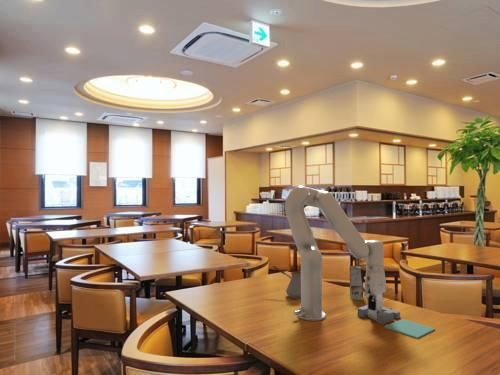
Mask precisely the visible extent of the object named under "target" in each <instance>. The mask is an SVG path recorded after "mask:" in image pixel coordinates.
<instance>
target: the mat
mask: <svg viewBox="0 0 500 375" xmlns="http://www.w3.org/2000/svg"><path fill="white" fill-rule="evenodd" d="M383 328H384V329H386V330H389V331H392V332H396V333H398V334H402V335H405V336H408V337H410V338H414V339H416V340H417V339H420V338H422V337H424V336H426V335H427V334H430V333H432V332H434V331H435V330H436V329H435V328H434V327H430V326H427V325H424V324H420V323H418V322H414V321H411V320H408V319H405V318H401V319H399V320H396V321H394V322H392V323H390V324H386V325H384V327H383Z"/></svg>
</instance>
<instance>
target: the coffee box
mask: <svg viewBox="0 0 500 375" xmlns="http://www.w3.org/2000/svg"><path fill="white" fill-rule="evenodd" d="M349 296H350V297H349V298H350V300H355V301H364V269H363V267H362V266H361V265H349Z"/></svg>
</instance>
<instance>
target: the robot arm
mask: <svg viewBox="0 0 500 375" xmlns="http://www.w3.org/2000/svg"><path fill="white" fill-rule="evenodd" d="M284 203H285V204H284V212H285V216H286V218H287V222H288V224H289V228H290V230H291V235H292V239H293V241H294V244H295V246H296V249H297V252H298V254H299V257H300V272H301V299H300V306H299V307H298V309H297V310H294V311H293V315H294V316H298V318H300V319H301V320H305V321H310V322H311V321H313V322H314V321H315V322H316V321H321V320H324V319H325V318H326V313H325V312H324V311H323V277H322V276H323V256H322V255H323V254H322V252H321V251H320V249H319V247H318V244H317V242H316V240H315V236H314V233H313V230H312V228H311V226H310V223H309V221H308V218H307V215H306V212H305V206H307V207H313V208H318V209H319V211H320V212H321V213H322V215H323V216H324V218H325V219H326V221H327V222H328V224H329V225H330V227H331V228H332V229H333V231H334V232H335V233H336V234H337V235H338V236H340V238H341V239H342V240H343V242H344V243H345V245H346V246H347V250H348V252H349V253H350V254H351V255H352V257H354V258H355V259H359V260H362V259H365V270H366V271H365V279H364V293H363V297H365V298H366V299H367V305H368V309H370V310H373V311H375V301H374V298H375V295H379V294H382V300H383V298H384V297H383V296H384V294H385V293H386V291H387V282H386V280H387V279H386V273H385V272H386V271H385V267H384V266H385V265H384V264H385V259H384V257H385V256H384V254H385V252H384V251H385V250H384V249H385V248H384V247H385V246H384V241H382V240H378V239H369V240H365V239H364V237H362V235H361V233H360V232H359V231H358V229H357V228H356V227H355V225H354V223H352V221H351V220H350V218H349V217H348V215H347V214H346V212H345V211H344V209H343V208H342V207H341V205H340V203H339V202H338V201H337V200H336V197H335V196H334V194H332V192H330V191H328V190H326V191H325V190H320V189H319V190H318V189H314V188H312V187H308V186H307V187H306V186H305V185H297V186H295V187H293V188H292V190H291V191H290V193H289V194H288V195H287V196H286V199H285V202H284ZM370 292H371V293H370ZM370 295H372V297H371V296H370Z"/></svg>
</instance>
